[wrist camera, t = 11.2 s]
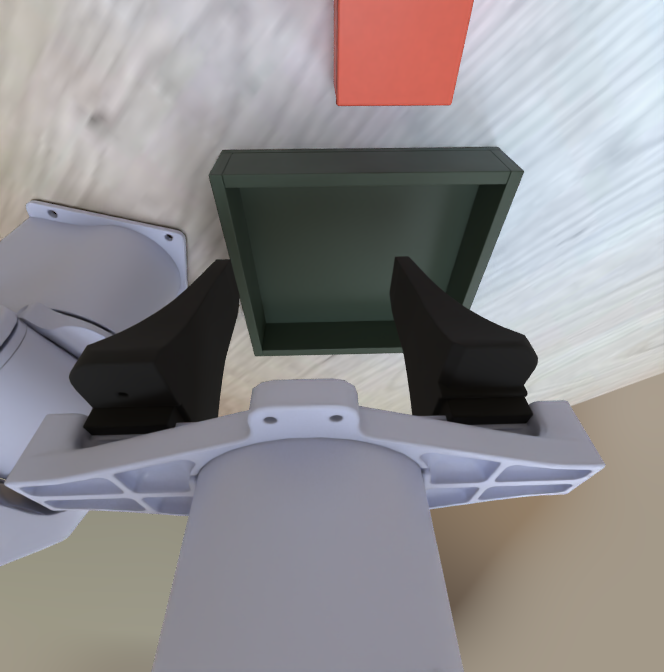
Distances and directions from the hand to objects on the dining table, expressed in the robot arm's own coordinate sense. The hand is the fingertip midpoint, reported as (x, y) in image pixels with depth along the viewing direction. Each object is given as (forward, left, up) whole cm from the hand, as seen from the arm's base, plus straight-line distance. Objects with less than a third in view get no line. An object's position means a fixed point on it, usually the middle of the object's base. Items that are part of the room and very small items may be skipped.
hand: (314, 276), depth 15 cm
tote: (+4, -4, -9) cm, 11 cm away
